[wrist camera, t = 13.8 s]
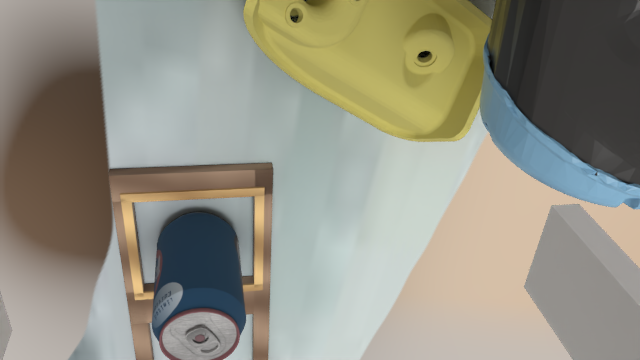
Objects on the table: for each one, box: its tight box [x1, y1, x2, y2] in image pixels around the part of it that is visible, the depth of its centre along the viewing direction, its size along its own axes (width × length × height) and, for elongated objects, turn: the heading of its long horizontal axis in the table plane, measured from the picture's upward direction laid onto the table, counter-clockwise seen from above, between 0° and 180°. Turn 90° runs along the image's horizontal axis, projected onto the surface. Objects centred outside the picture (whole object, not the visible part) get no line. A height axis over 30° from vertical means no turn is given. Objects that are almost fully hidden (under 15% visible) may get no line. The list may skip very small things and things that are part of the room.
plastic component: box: [243, 0, 492, 142], centre depth 43 cm, size 20×7×10 cm
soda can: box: [152, 212, 246, 360], centre depth 48 cm, size 7×7×12 cm
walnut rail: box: [109, 163, 273, 360], centre depth 56 cm, size 29×13×1 cm, turn 177°
